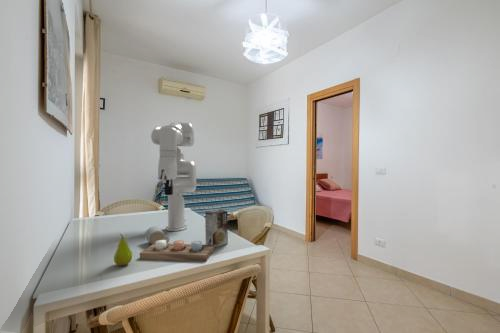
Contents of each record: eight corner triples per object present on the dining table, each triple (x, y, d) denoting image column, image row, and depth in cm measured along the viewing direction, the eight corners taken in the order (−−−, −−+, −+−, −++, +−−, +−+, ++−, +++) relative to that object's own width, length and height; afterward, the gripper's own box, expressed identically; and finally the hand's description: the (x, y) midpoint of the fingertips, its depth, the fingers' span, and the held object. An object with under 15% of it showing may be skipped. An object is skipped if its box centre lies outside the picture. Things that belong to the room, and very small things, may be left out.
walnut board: (155, 248, 106) (155, 243, 106) (214, 250, 102) (214, 244, 102) (139, 258, 94) (139, 252, 94) (206, 261, 91) (206, 255, 91)
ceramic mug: (149, 247, 107) (150, 230, 107) (145, 242, 114) (145, 227, 114) (172, 242, 114) (172, 227, 114) (166, 239, 120) (166, 224, 120)
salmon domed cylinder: (176, 249, 100) (176, 240, 101) (185, 249, 100) (185, 240, 100) (171, 252, 96) (171, 243, 96) (181, 253, 96) (181, 243, 96)
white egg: (158, 248, 101) (158, 239, 101) (168, 249, 101) (168, 239, 101) (153, 252, 97) (153, 242, 97) (163, 252, 97) (163, 243, 97)
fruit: (136, 262, 90) (136, 231, 90) (124, 269, 84) (124, 236, 84) (122, 260, 92) (122, 230, 92) (109, 267, 86) (109, 235, 86)
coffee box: (220, 240, 116) (220, 209, 116) (228, 243, 111) (228, 210, 112) (204, 245, 110) (204, 211, 110) (212, 248, 105) (212, 213, 105)
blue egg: (193, 249, 100) (193, 240, 100) (203, 250, 99) (203, 240, 99) (189, 253, 95) (189, 244, 95) (200, 254, 95) (200, 244, 95)
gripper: (168, 155, 112) (168, 192, 113) (151, 154, 98) (152, 197, 98) (182, 155, 112) (183, 192, 112) (168, 154, 97) (168, 197, 97)
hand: (168, 194), depth 105 cm, fingers closed
